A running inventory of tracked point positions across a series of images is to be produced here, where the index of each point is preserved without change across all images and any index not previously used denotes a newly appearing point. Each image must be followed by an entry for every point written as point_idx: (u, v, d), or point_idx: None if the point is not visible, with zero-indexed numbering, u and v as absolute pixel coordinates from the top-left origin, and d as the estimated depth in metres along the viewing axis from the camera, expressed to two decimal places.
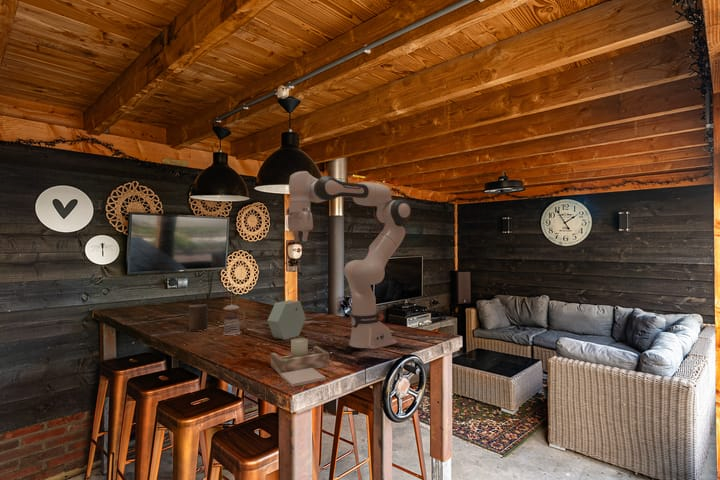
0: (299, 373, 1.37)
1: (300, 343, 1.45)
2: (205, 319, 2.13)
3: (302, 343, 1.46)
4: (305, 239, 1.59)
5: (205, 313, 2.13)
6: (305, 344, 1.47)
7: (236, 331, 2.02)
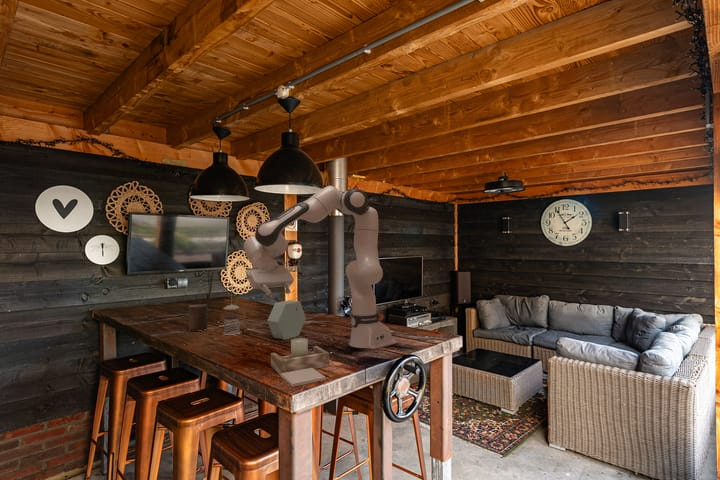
0: (299, 373, 1.37)
1: (300, 343, 1.45)
2: (205, 319, 2.13)
3: (302, 343, 1.46)
4: (267, 292, 1.53)
5: (205, 313, 2.13)
6: (305, 344, 1.47)
7: (236, 331, 2.02)
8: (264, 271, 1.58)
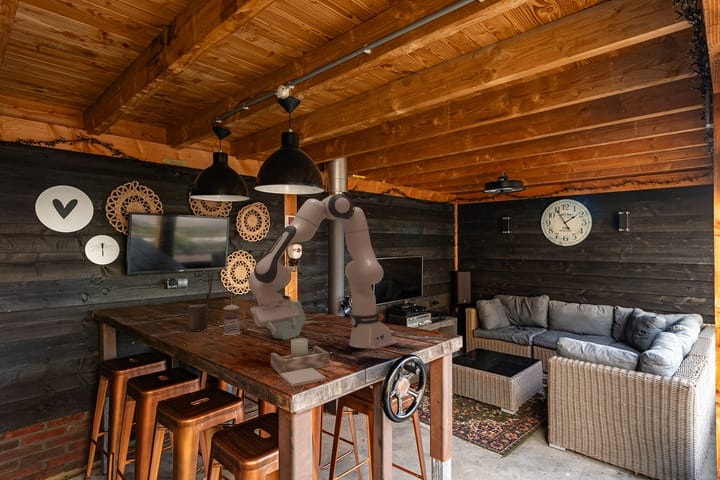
0: (299, 373, 1.37)
1: (300, 343, 1.45)
2: (205, 319, 2.13)
3: (302, 343, 1.46)
4: (273, 330, 1.50)
5: (205, 313, 2.13)
6: (305, 344, 1.47)
7: (236, 331, 2.02)
8: (269, 307, 1.56)
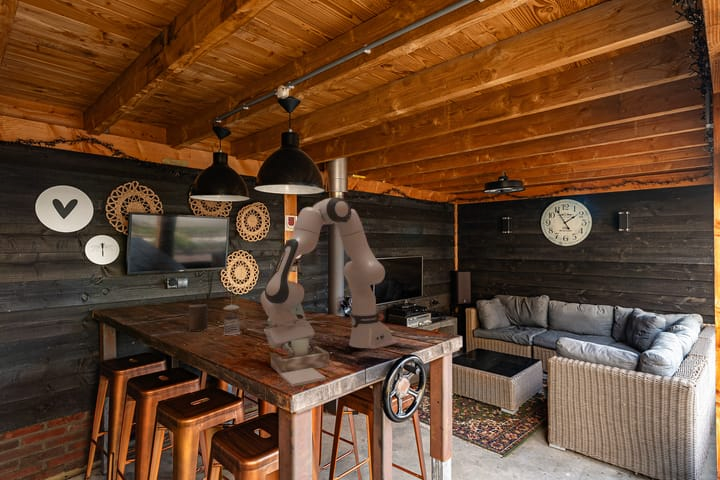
0: (299, 373, 1.37)
1: (300, 343, 1.45)
2: (205, 319, 2.13)
3: (302, 343, 1.46)
4: (290, 352, 1.45)
5: (205, 313, 2.13)
6: (305, 344, 1.47)
7: (236, 331, 2.02)
8: (283, 328, 1.50)
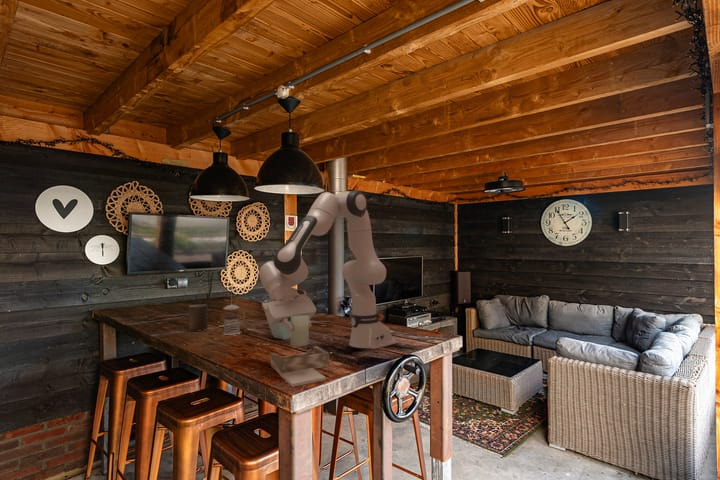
0: (299, 373, 1.37)
1: (300, 319, 1.35)
2: (205, 319, 2.13)
3: (302, 319, 1.35)
4: (289, 328, 1.34)
5: (205, 313, 2.13)
6: (306, 320, 1.36)
7: (236, 331, 2.02)
8: (283, 303, 1.39)
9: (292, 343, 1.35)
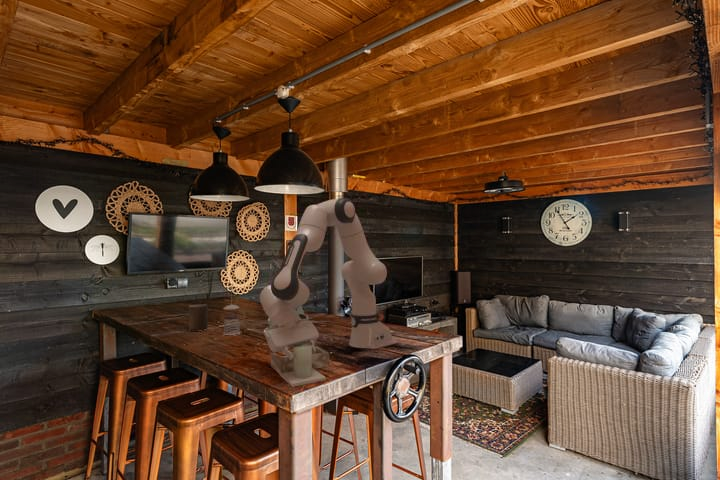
0: None
1: (303, 350, 1.32)
2: (205, 319, 2.13)
3: (306, 350, 1.32)
4: (290, 356, 1.31)
5: (205, 313, 2.13)
6: (309, 351, 1.33)
7: (236, 331, 2.02)
8: (285, 329, 1.36)
9: (295, 375, 1.32)
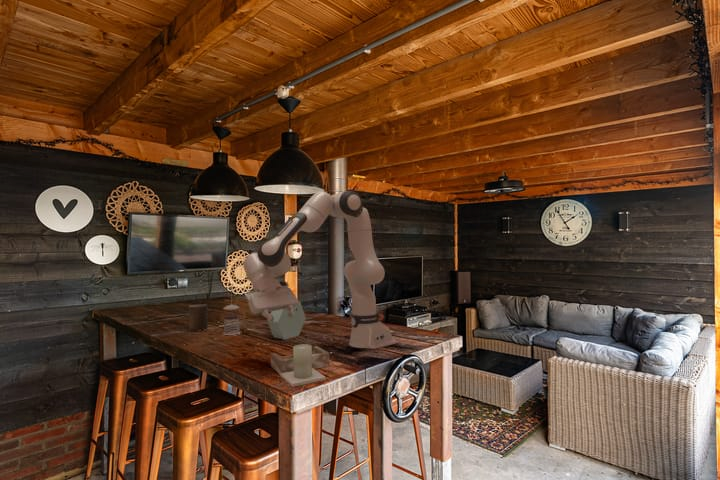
0: None
1: (303, 350, 1.32)
2: (205, 319, 2.13)
3: (306, 350, 1.32)
4: (269, 318, 1.41)
5: (205, 313, 2.13)
6: (309, 351, 1.33)
7: (236, 331, 2.02)
8: (265, 294, 1.46)
9: (295, 375, 1.32)
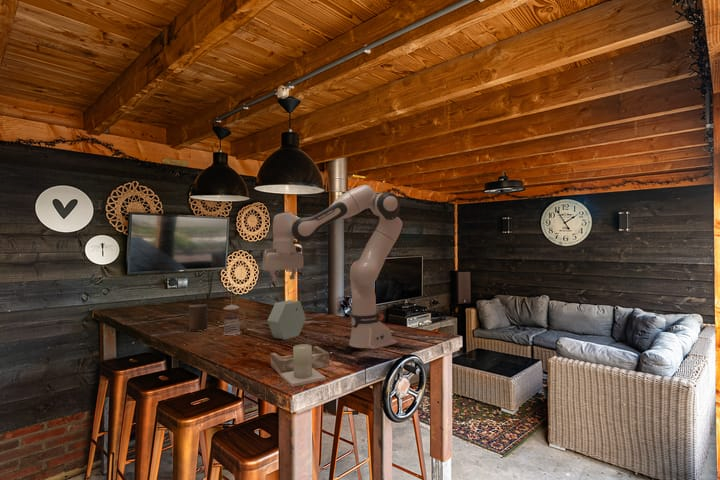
0: None
1: (303, 350, 1.32)
2: (205, 319, 2.13)
3: (306, 350, 1.32)
4: (273, 279, 1.66)
5: (205, 313, 2.13)
6: (309, 351, 1.33)
7: (236, 331, 2.02)
8: (280, 256, 1.67)
9: (295, 375, 1.32)
